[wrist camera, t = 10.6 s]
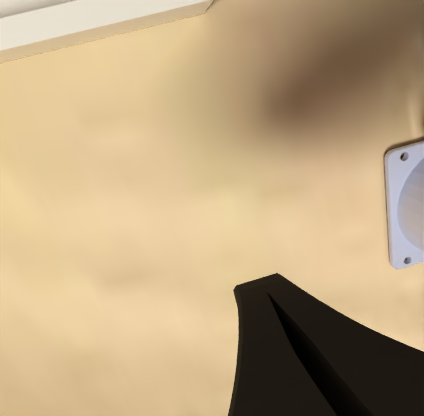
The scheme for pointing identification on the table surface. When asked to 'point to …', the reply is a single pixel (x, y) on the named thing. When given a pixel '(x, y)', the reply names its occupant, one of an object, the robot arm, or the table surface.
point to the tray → (81, 21)
